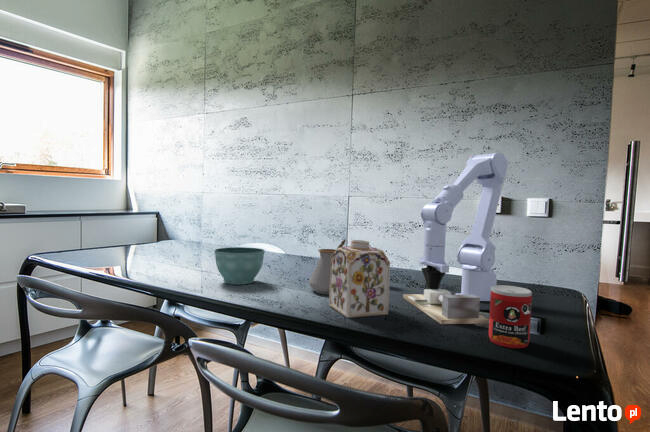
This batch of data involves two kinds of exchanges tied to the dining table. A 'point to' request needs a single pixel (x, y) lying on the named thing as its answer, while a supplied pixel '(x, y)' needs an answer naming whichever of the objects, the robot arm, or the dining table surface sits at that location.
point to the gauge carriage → (434, 296)
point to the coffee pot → (323, 271)
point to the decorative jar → (359, 280)
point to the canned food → (510, 316)
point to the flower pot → (239, 264)
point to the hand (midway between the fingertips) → (432, 293)
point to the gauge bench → (438, 313)
